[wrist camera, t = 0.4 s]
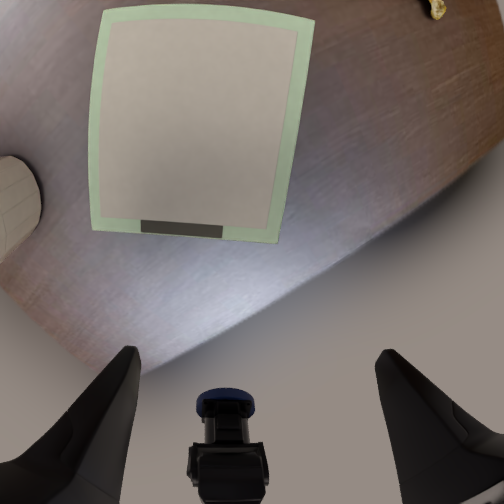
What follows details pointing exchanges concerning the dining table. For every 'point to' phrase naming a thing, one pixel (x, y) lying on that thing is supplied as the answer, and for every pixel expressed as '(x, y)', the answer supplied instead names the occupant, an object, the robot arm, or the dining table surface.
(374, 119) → the dining table surface
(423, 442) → the robot arm
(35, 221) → the cream faceted cup
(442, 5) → the fruit
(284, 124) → the scale
